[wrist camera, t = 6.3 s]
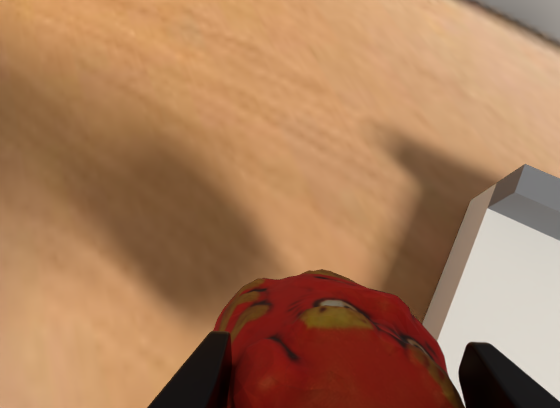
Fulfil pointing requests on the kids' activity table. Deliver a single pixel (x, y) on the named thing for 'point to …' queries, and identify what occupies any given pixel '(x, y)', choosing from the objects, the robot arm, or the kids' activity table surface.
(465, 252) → the shelf board
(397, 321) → the red bumpy oval lump
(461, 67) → the kids' activity table surface
